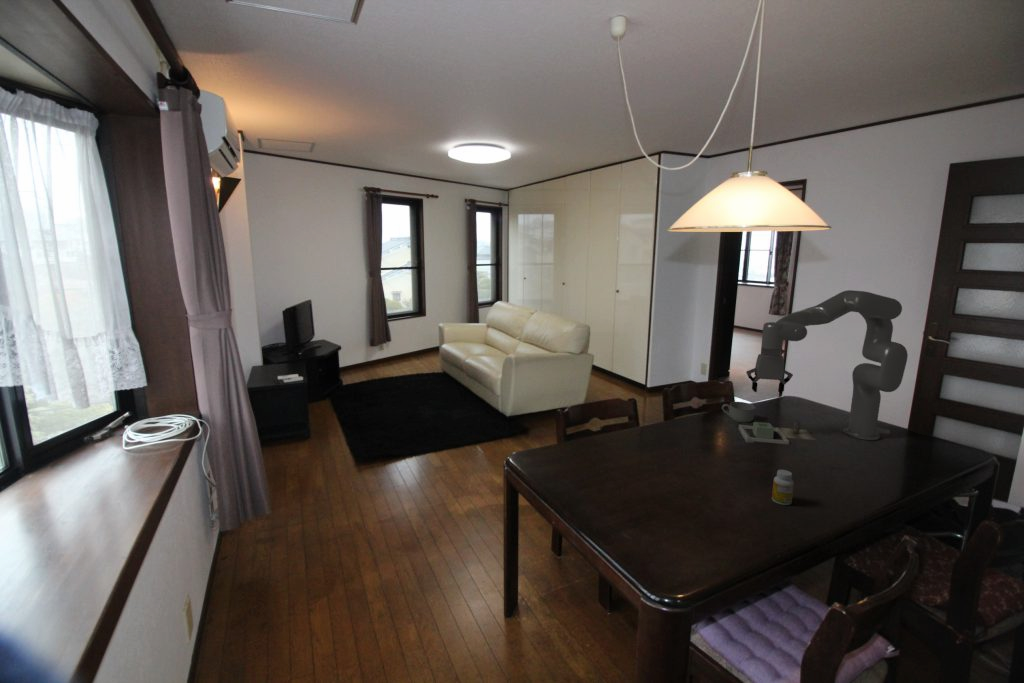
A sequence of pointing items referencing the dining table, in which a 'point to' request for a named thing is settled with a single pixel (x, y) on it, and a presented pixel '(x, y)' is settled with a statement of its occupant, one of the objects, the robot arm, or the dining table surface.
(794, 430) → the wooden peg base
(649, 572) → the dining table surface
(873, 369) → the robot arm
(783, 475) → the supplement bottle
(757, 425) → the green hollow square block
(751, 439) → the tray
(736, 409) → the teacup
